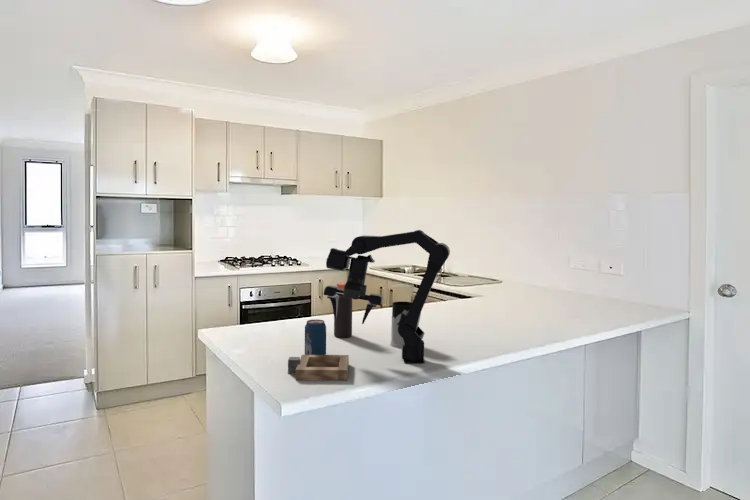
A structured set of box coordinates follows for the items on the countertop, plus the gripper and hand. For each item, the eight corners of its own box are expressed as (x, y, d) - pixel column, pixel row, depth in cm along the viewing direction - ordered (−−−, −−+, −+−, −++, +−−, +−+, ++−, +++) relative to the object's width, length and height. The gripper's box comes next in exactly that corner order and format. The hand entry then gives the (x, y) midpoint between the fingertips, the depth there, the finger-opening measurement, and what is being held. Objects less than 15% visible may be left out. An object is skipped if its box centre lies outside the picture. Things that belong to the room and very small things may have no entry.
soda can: (327, 355, 168) (328, 319, 167) (323, 361, 161) (324, 324, 160) (307, 354, 168) (307, 318, 167) (302, 360, 162) (302, 323, 161)
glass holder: (394, 348, 176) (394, 306, 175) (382, 338, 190) (383, 298, 189) (417, 347, 179) (418, 305, 177) (404, 337, 192) (405, 298, 191)
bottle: (349, 338, 189) (349, 285, 187) (331, 337, 190) (332, 284, 188) (353, 334, 195) (354, 282, 194) (336, 333, 197) (337, 282, 195)
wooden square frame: (348, 364, 158) (348, 351, 158) (346, 380, 144) (347, 366, 143) (292, 363, 158) (292, 351, 158) (284, 379, 143) (284, 366, 143)
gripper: (324, 270, 157) (315, 319, 158) (383, 281, 156) (374, 330, 156) (330, 268, 169) (322, 314, 169) (386, 278, 167) (377, 325, 167)
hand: (348, 321), depth 165 cm, fingers open, 9 cm apart
